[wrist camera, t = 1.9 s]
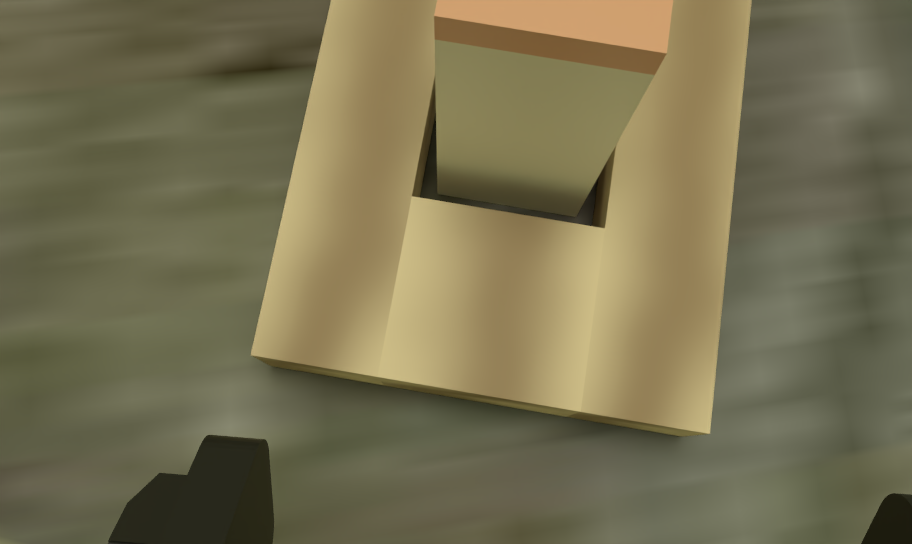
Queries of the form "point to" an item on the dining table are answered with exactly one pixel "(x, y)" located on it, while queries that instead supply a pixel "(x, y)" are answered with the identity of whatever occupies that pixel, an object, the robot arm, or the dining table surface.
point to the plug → (539, 94)
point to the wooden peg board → (509, 239)
